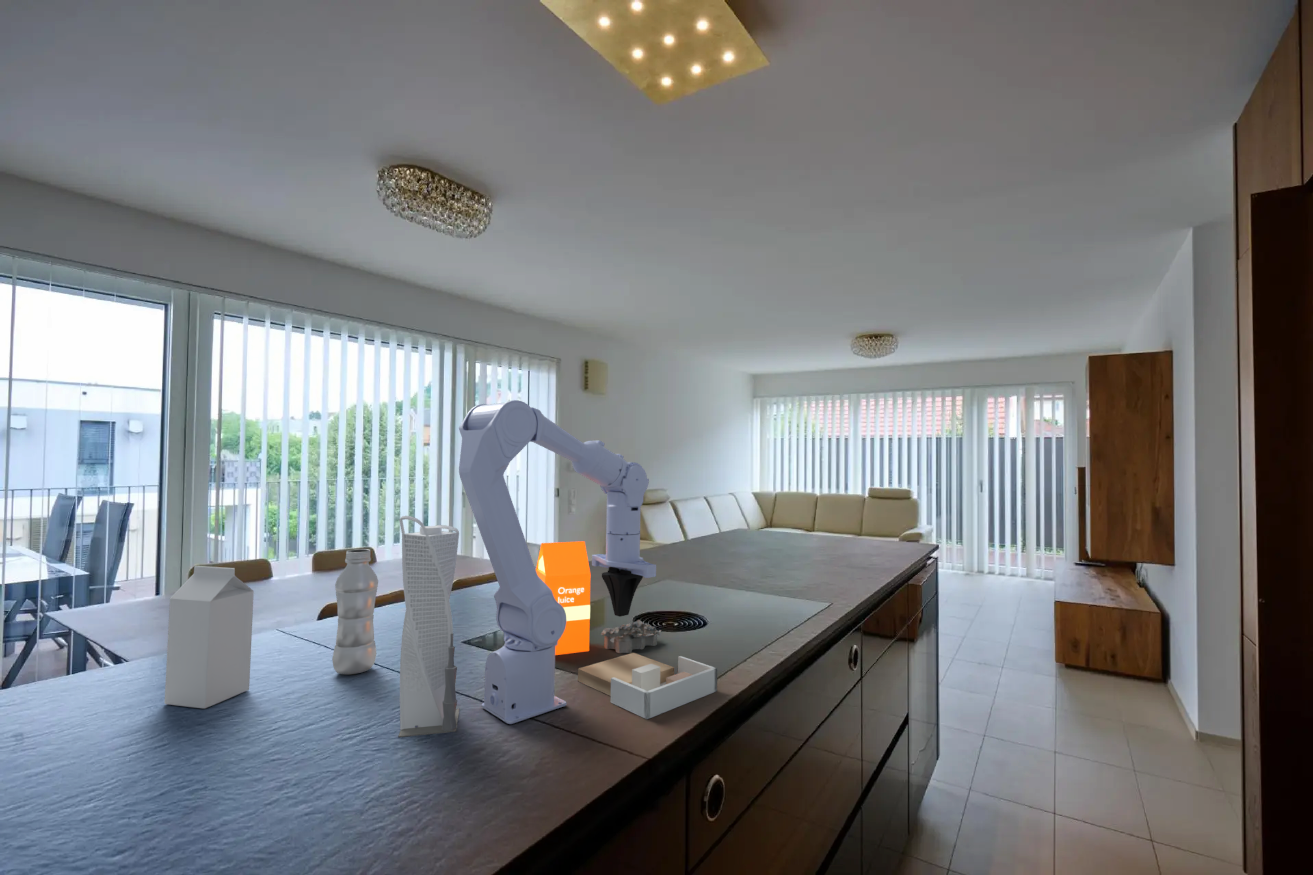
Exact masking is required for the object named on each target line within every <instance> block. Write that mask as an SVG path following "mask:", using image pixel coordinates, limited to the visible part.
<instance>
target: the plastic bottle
mask: <svg viewBox="0 0 1313 875" xmlns="http://www.w3.org/2000/svg"><path fill="white" fill-rule="evenodd" d="M345 554H346V555H345V560H344V562H345V563H346V566H345V567H344V569H343V570H342V571H341V572H340V574H339V575H338V577H337V579H336V580H335V584H334V587H335V588H334V591H335V595H336V596H335V597H336V605H337V606H336V607H337V631H336V638H335V645H334V649H333V652H332V658H331V659H332V665H333V666H332V667H333V670H334V671H335V672H336V673H337V674H340V675H356V674H360V673H363V672H366V671H369V670H371V669H372V668H373V666H374V664H375V662H376V658H377V647H376V641H375V630H374V629H375V628H374V613H375V604H376V598H377V592H378V587H379V580H378V575H377V574H376V572H375V571H374V569H373V568H372V566H371V565H370V564H369V562H371V560H372V557H371V549H367V548H362V549H361V548H360V549H349V550H346V553H345ZM345 563H344V564H345Z"/></svg>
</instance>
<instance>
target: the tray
mask: <svg viewBox="0 0 1313 875" xmlns="http://www.w3.org/2000/svg"><path fill="white" fill-rule="evenodd" d="M677 660H678V661H677V674H678V673H681V672H686V673H689V674H692V675H691V676H688V677H685V678H683V679H680V680H677V681H674V682H672V683H669V684H666V682H664V683H661V684H660V687H658V688H655V689H652V690H649V691H646V690H644V689H641V688H639V687H636V686H634V685H632V684H629V683H627V682H624V681H622V680H620V679H617V678H615V677H613V678H611V696H610V704H613V705H615V706H617V707H620V708H621V709H624V710H626V711H629V712H630V713H633V714H635V715H636V716H639V717H641V718H643V719H644V720H649V719H651V718H654V717H656V716H659V715H662V714H663V713H666V712H669V711H671V710H673V709H676V708H678V707H681V706H684V705H686V704H688V703H690V702H693V701H696V700H698V699H701V698H703V697H706V696H708V695H711V694H714V693H716V692H718V667H715V666H712V665H710V664H709V665H708V664H705V663H703V662H700V661H697V660H693V659H691V658H688V657H685V656H682V655H680V656H679V655H678V657H677Z"/></svg>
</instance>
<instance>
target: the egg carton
mask: <svg viewBox="0 0 1313 875" xmlns="http://www.w3.org/2000/svg"><path fill="white" fill-rule="evenodd" d="M661 632H662V630H661V629H659V630H657V628H656V627H655V626H652V625H651V624H649V623H647V622H645V623H644V622H643V621H642V620H640V619H637V620H636V621H633V622H632V623H631V622H630V623H627V624H624V623H623V624H621V625H620V626H615V627H613V628H612V627H605V628H603V630H602V631H601V633H600V635H601V636H604V642H603V644H604V645H603V647H604V649H606V650H611V649H612V650H615V653H617V654H630V653H633V650H643V649H645V647H646V646H657V645H658V636H660V634H661Z"/></svg>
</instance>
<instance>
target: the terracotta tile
mask: <svg viewBox="0 0 1313 875" xmlns="http://www.w3.org/2000/svg"><path fill="white" fill-rule="evenodd" d="M691 675H692V674H689V673H686V672H681V673H678V672H677V673H676V674H674V675H673V676H670V677H667V678H666V684H669V683H672V682H674V681H677V680H680V679H683V678H685V677H688V676H691Z"/></svg>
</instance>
